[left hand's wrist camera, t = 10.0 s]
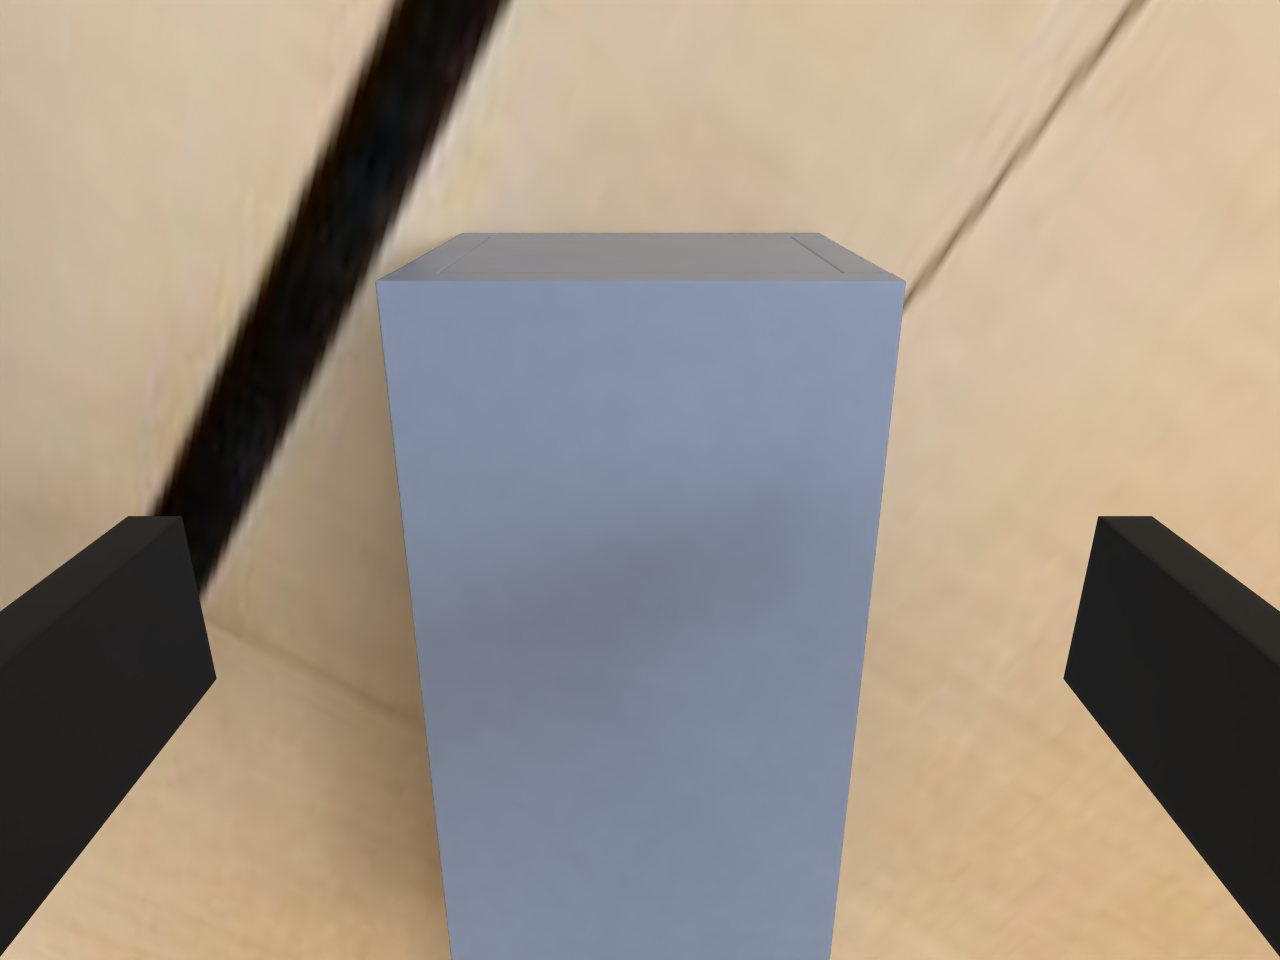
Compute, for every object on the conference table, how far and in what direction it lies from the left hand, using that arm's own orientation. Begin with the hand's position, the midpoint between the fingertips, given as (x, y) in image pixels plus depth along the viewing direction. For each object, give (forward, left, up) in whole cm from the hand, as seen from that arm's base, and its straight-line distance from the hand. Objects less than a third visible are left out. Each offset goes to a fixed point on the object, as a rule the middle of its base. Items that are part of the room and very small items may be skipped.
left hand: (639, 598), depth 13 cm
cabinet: (+7, -3, -14) cm, 15 cm away
